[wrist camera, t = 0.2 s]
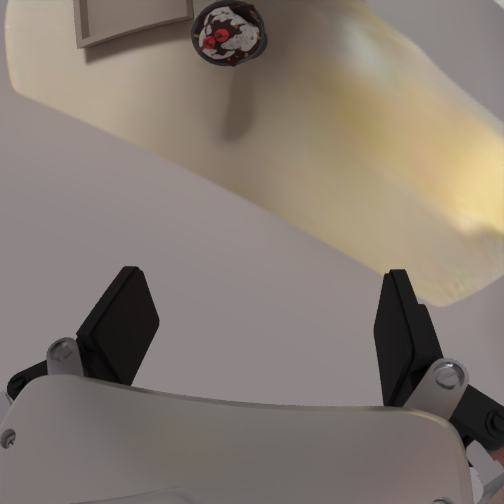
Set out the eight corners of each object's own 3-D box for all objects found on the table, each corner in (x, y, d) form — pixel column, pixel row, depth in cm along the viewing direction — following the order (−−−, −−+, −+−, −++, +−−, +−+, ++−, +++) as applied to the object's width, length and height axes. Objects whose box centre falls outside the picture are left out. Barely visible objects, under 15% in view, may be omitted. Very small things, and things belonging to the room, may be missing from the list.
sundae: (221, 69, 34) (175, 73, 22) (216, 19, 31) (168, -3, 18) (276, 65, 33) (260, 63, 21) (271, 13, 30) (253, -17, 17)
